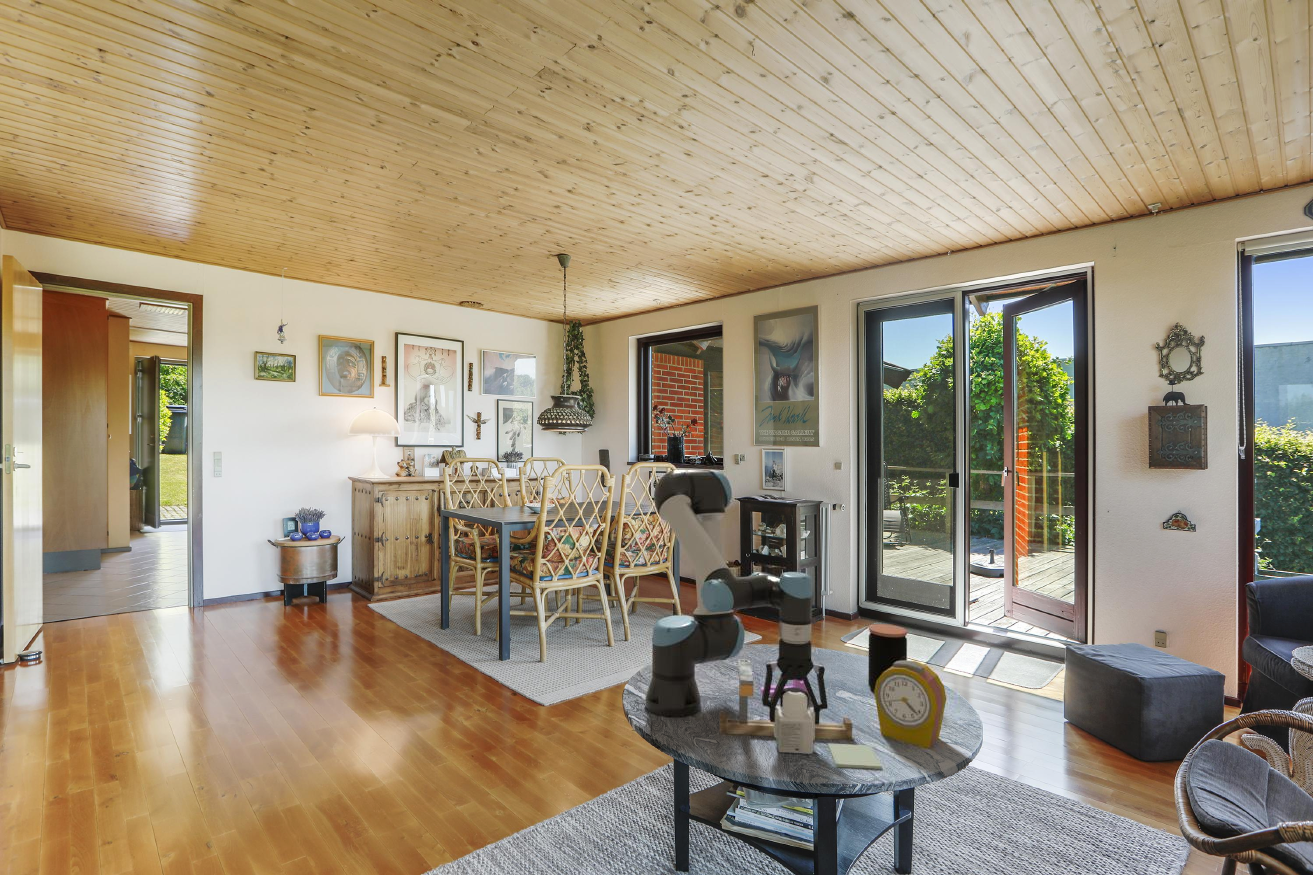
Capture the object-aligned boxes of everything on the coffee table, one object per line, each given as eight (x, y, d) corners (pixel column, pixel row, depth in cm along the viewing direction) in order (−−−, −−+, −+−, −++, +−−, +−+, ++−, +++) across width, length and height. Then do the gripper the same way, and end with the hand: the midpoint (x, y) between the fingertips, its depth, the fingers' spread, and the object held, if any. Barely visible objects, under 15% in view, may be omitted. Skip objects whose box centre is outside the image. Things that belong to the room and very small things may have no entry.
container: (775, 737, 155) (776, 683, 155) (808, 739, 154) (808, 685, 154) (778, 752, 147) (779, 695, 147) (812, 754, 146) (813, 697, 147)
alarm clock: (873, 733, 159) (873, 658, 159) (885, 722, 165) (885, 651, 165) (935, 751, 149) (936, 672, 149) (946, 740, 155) (946, 664, 156)
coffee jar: (903, 700, 180) (904, 636, 181) (864, 692, 186) (865, 630, 186) (909, 688, 190) (909, 627, 190) (872, 681, 195) (872, 622, 195)
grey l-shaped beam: (739, 746, 144) (740, 680, 145) (736, 718, 160) (737, 658, 160) (752, 747, 144) (753, 681, 145) (749, 719, 159) (749, 659, 160)
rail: (719, 733, 157) (719, 716, 158) (719, 727, 161) (719, 711, 161) (852, 739, 155) (852, 723, 155) (849, 734, 158) (849, 717, 158)
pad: (835, 766, 141) (836, 763, 141) (827, 745, 151) (827, 743, 151) (882, 768, 140) (882, 766, 140) (871, 748, 150) (871, 745, 150)
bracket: (805, 691, 186) (806, 667, 186) (808, 699, 180) (808, 674, 181) (760, 689, 187) (761, 665, 188) (761, 696, 182) (761, 671, 182)
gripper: (752, 642, 148) (750, 740, 148) (842, 646, 146) (841, 746, 146) (750, 632, 156) (749, 726, 155) (836, 636, 154) (835, 731, 154)
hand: (793, 736), depth 151 cm, fingers closed on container, 8 cm apart
